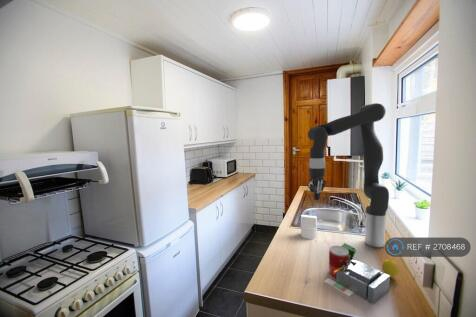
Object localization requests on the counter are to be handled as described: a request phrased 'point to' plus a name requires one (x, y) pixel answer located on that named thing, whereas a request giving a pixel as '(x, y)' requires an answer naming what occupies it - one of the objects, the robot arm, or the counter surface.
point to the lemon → (390, 267)
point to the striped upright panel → (339, 287)
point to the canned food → (337, 258)
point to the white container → (308, 226)
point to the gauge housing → (364, 281)
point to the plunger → (344, 268)
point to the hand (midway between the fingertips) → (316, 199)
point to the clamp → (350, 249)
